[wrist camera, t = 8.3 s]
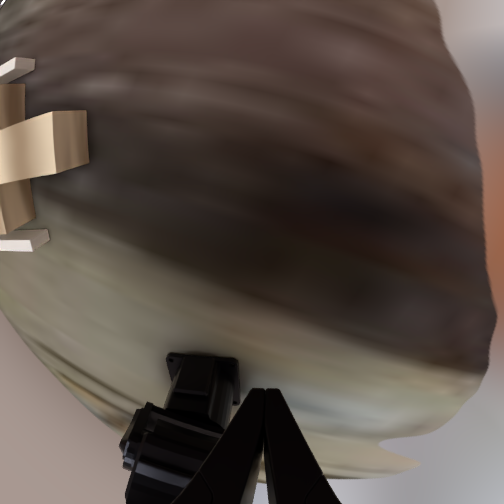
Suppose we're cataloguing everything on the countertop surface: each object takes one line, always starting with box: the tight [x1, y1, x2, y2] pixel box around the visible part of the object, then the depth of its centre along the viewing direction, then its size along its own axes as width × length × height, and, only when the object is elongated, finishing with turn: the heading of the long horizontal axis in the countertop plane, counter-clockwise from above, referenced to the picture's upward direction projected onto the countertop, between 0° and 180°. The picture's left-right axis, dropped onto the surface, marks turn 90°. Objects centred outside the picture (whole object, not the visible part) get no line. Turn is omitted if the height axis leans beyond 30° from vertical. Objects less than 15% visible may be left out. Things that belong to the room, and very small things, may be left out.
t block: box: [0, 84, 89, 234], centre depth 16 cm, size 11×12×4 cm
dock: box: [0, 57, 50, 252], centre depth 17 cm, size 16×8×2 cm, turn 1°
